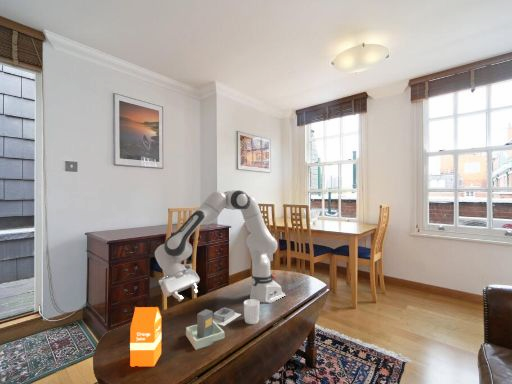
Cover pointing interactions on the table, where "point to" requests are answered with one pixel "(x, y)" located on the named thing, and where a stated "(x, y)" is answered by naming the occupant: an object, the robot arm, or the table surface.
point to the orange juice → (145, 337)
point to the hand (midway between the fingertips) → (189, 296)
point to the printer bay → (224, 316)
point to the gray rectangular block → (204, 323)
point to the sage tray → (206, 341)
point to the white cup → (251, 311)
